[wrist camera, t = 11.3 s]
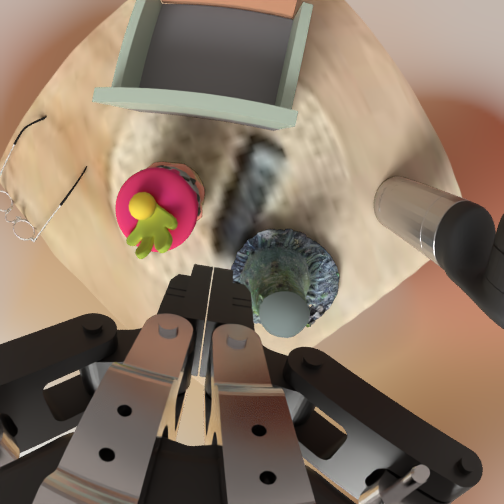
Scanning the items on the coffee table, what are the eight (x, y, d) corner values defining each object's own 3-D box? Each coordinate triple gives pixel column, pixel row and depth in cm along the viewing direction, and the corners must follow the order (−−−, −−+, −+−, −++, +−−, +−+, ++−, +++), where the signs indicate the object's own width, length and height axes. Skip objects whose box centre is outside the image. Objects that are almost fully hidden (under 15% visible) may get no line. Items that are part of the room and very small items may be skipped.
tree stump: (265, 343, 54) (256, 402, 37) (212, 254, 52) (176, 284, 35) (352, 302, 51) (379, 351, 33) (303, 204, 48) (313, 210, 31)
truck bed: (273, 130, 39) (294, 126, 25) (140, 111, 37) (92, 101, 22) (293, 35, 34) (322, -10, 19) (163, 18, 31) (132, -29, 16)
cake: (127, 189, 41) (82, 214, 28) (178, 145, 40) (149, 150, 26) (168, 240, 45) (141, 285, 31) (220, 200, 43) (213, 232, 29)
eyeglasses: (-1, 187, 39) (-17, 192, 34) (44, 111, 35) (27, 110, 31) (41, 243, 44) (27, 253, 39) (93, 171, 40) (79, 176, 36)
